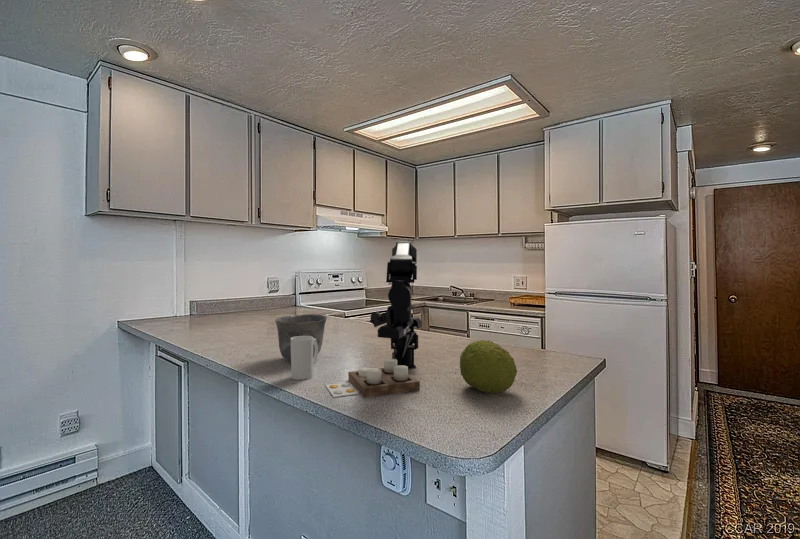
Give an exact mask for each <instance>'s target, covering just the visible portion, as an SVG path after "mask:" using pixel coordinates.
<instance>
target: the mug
mask: <svg viewBox="0 0 800 539" xmlns="http://www.w3.org/2000/svg"><path fill="white" fill-rule="evenodd" d="M313 345H314V347H315V354H314V357H313ZM318 356H319V353H318V345H317V342H316V339H315V338H314V339H313V337H312V336H296V337H292V338H291V361H290V367H291V368H290V369H291V378H292V379H293V380H294V381H295V380H296V381H297V380H298V381H303V380H305V381H306V380H308V379H312V378H313V376H314V365H315V364H316V363H317V360H318ZM316 365H317V364H316Z"/></svg>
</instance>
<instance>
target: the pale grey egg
mask: <svg viewBox="0 0 800 539" xmlns="http://www.w3.org/2000/svg"><path fill="white" fill-rule="evenodd" d="M394 366H397V359H392V358H386V359H384V360H383V368H384V372H387V373H394Z"/></svg>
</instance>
